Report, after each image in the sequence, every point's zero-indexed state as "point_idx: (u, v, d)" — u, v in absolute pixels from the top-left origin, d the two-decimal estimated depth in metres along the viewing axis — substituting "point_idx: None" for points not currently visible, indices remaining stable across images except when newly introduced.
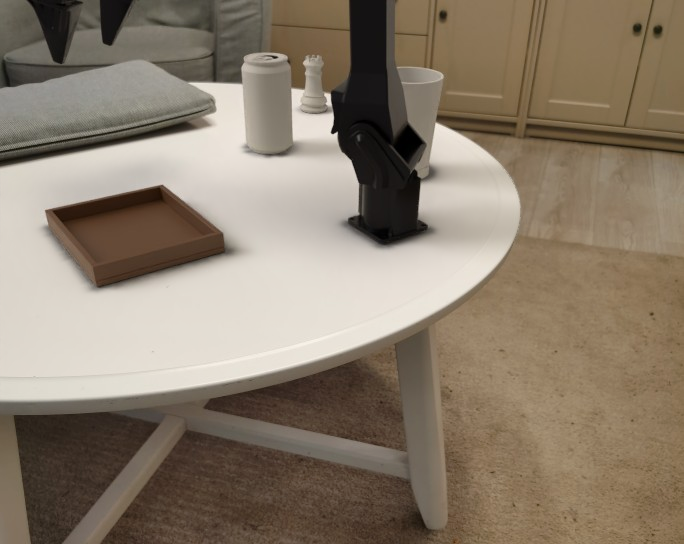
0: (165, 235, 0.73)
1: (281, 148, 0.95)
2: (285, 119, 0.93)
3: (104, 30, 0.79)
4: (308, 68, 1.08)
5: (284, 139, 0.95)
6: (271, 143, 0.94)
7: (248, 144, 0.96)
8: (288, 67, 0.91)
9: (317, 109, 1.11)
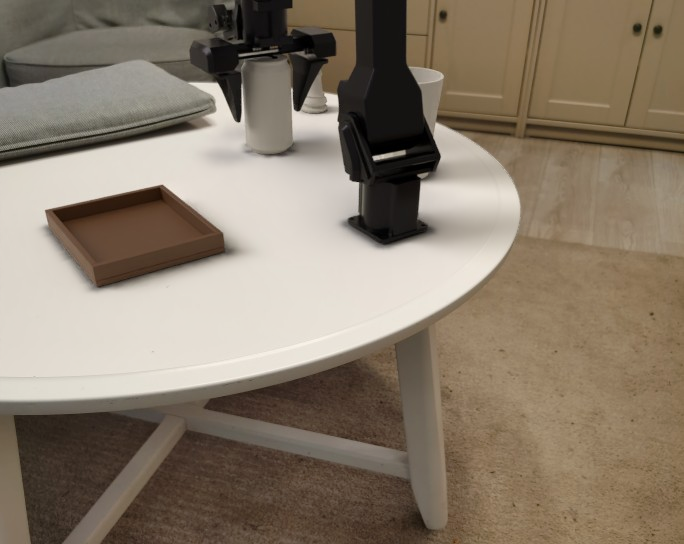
0: (165, 235, 0.73)
1: (281, 148, 0.95)
2: (285, 119, 0.93)
3: (294, 99, 0.97)
4: None
5: (283, 139, 0.95)
6: (271, 143, 0.94)
7: (248, 144, 0.96)
8: (288, 67, 0.91)
9: (317, 109, 1.11)
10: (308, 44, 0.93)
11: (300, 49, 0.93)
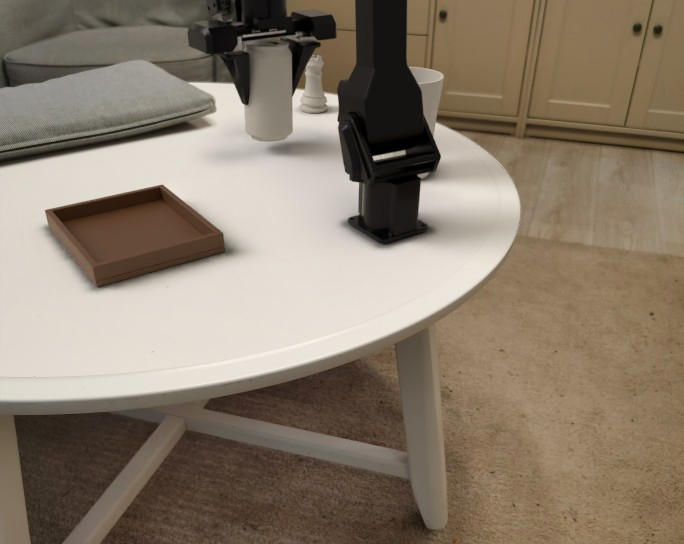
0: (165, 235, 0.73)
1: (281, 135, 0.94)
2: (285, 106, 0.92)
3: None
4: (308, 68, 1.08)
5: (283, 126, 0.94)
6: (271, 130, 0.93)
7: (247, 131, 0.95)
8: (289, 53, 0.90)
9: (317, 109, 1.11)
10: (308, 27, 0.92)
11: (292, 33, 0.91)
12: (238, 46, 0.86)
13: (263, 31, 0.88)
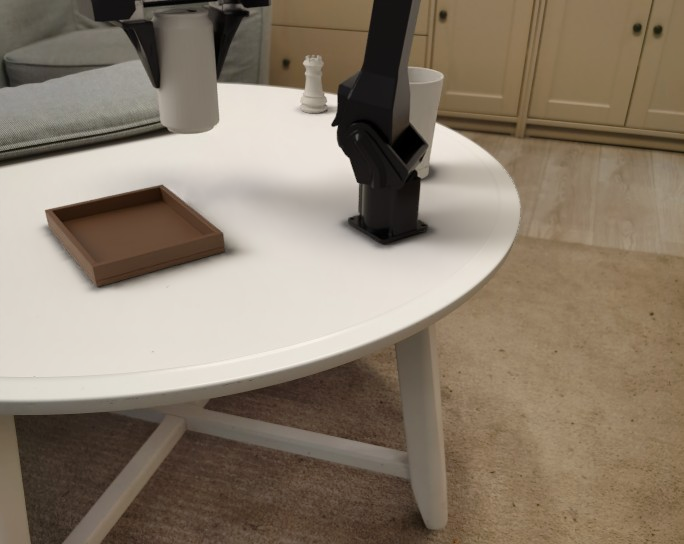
0: (165, 235, 0.73)
1: (202, 127, 0.76)
2: (205, 89, 0.74)
3: None
4: (308, 68, 1.08)
5: (205, 115, 0.76)
6: (188, 119, 0.75)
7: (161, 121, 0.77)
8: (208, 23, 0.72)
9: (317, 109, 1.11)
10: None
11: None
12: (139, 13, 0.68)
13: None
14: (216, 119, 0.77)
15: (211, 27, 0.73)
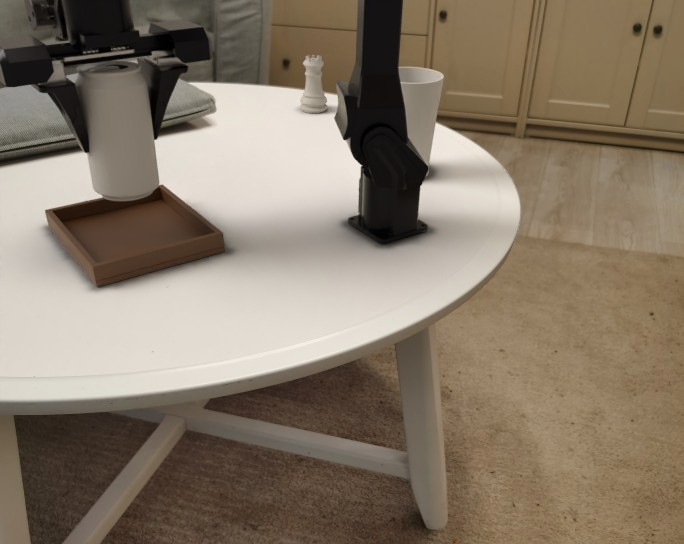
0: (165, 235, 0.73)
1: (138, 193, 0.68)
2: (140, 153, 0.66)
3: None
4: (308, 68, 1.08)
5: (141, 181, 0.68)
6: (122, 186, 0.67)
7: (93, 187, 0.69)
8: (140, 81, 0.64)
9: (317, 109, 1.11)
10: (171, 44, 0.66)
11: (147, 53, 0.65)
12: (58, 74, 0.60)
13: (99, 51, 0.62)
14: (155, 183, 0.69)
15: (144, 85, 0.65)
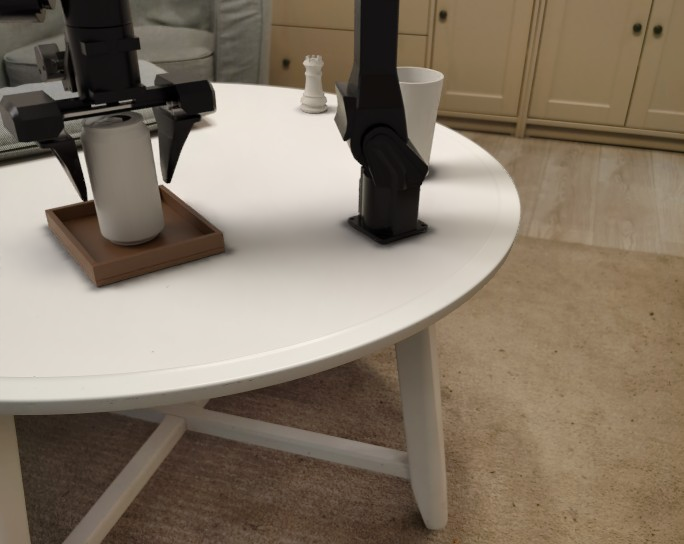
0: (165, 235, 0.73)
1: (144, 238, 0.71)
2: (145, 200, 0.69)
3: (161, 167, 0.72)
4: (308, 68, 1.08)
5: (147, 226, 0.70)
6: (129, 232, 0.70)
7: (101, 232, 0.71)
8: (143, 132, 0.66)
9: (317, 109, 1.11)
10: (176, 95, 0.69)
11: (162, 103, 0.68)
12: None
13: (117, 104, 0.65)
14: (160, 226, 0.72)
15: (147, 135, 0.67)
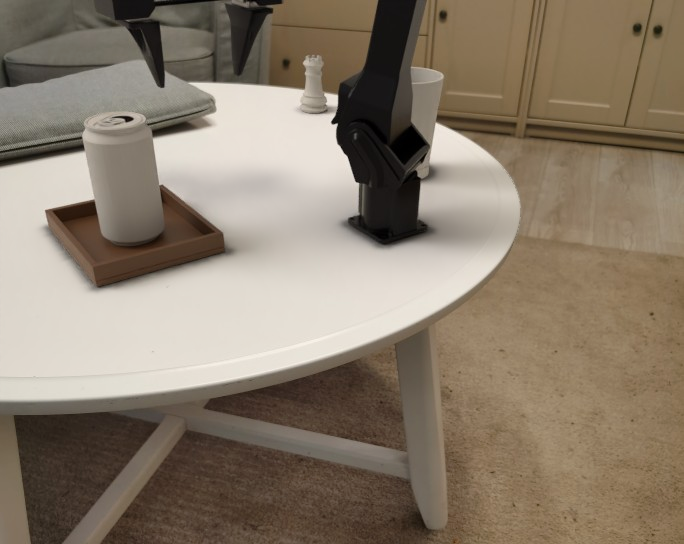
0: (165, 235, 0.73)
1: (144, 239, 0.71)
2: (146, 201, 0.69)
3: (233, 60, 0.78)
4: (308, 68, 1.08)
5: (147, 227, 0.70)
6: (129, 233, 0.70)
7: (101, 232, 0.71)
8: (146, 134, 0.67)
9: (317, 109, 1.11)
10: None
11: None
12: None
13: None
14: (161, 228, 0.72)
15: (149, 137, 0.67)
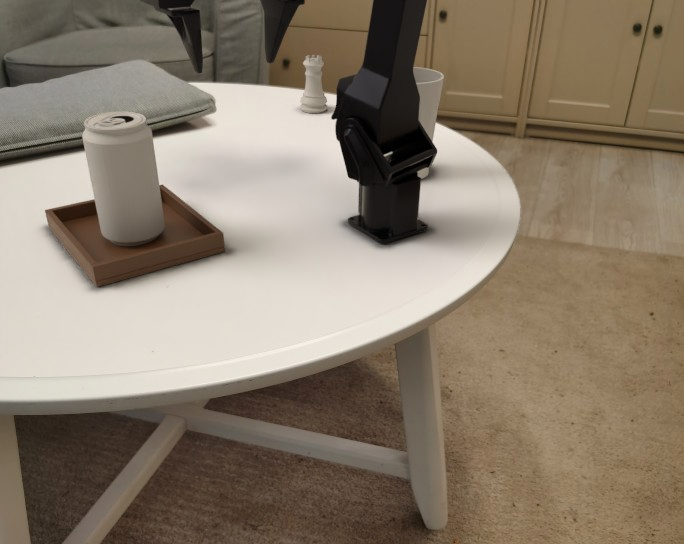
0: (165, 235, 0.73)
1: (144, 239, 0.71)
2: (146, 201, 0.69)
3: (266, 49, 0.83)
4: (308, 68, 1.08)
5: (147, 227, 0.70)
6: (129, 233, 0.70)
7: (101, 232, 0.71)
8: (146, 134, 0.67)
9: (317, 109, 1.11)
10: None
11: None
12: None
13: None
14: (161, 228, 0.72)
15: (149, 137, 0.67)
